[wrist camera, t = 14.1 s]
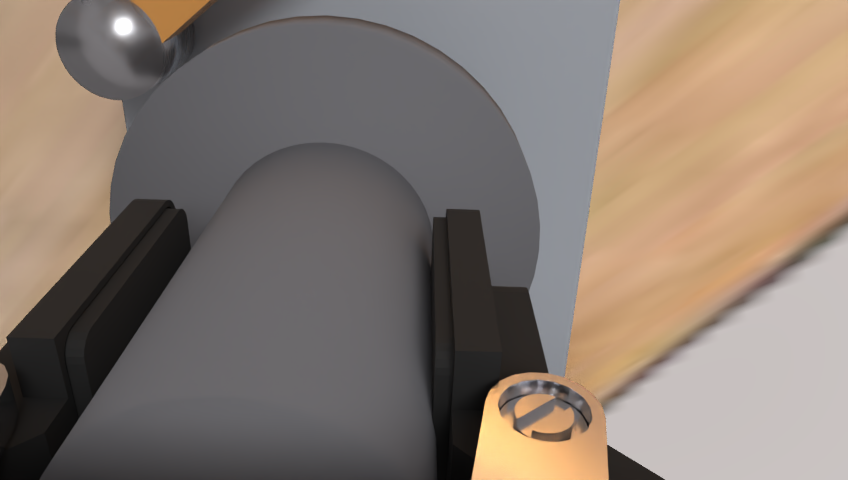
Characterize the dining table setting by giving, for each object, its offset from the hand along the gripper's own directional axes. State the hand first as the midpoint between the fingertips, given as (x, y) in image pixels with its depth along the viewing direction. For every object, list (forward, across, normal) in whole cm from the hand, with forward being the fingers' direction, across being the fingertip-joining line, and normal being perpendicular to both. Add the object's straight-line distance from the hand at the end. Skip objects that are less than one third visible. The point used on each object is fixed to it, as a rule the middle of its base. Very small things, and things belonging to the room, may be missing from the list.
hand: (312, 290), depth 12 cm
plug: (+6, 0, 0) cm, 6 cm away
